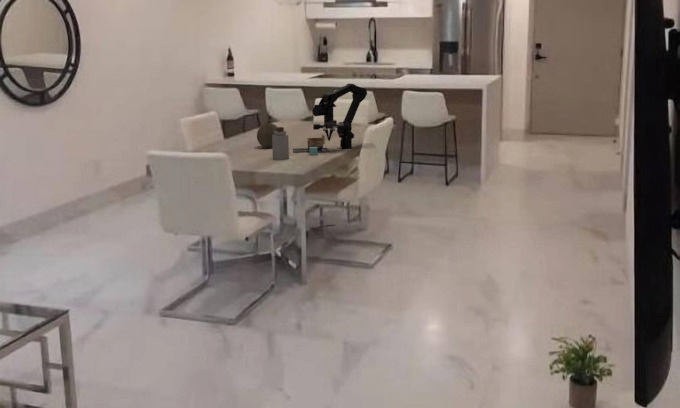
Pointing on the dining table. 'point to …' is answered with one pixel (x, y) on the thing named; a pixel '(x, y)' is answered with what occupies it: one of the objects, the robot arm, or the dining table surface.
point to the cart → (316, 142)
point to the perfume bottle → (280, 144)
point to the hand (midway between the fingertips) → (329, 140)
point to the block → (313, 151)
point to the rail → (308, 150)
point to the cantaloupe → (266, 134)
